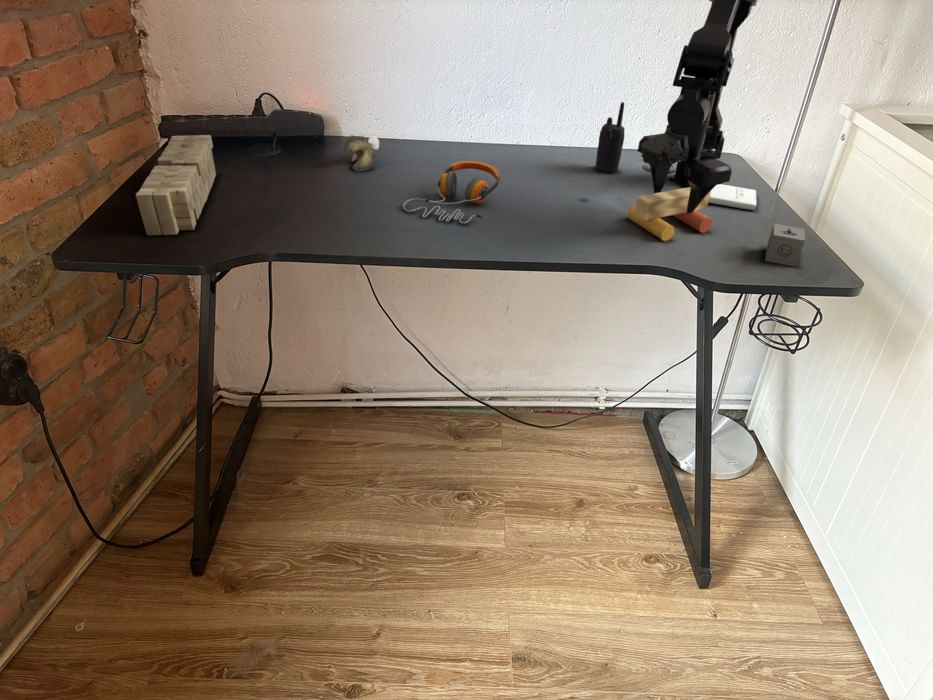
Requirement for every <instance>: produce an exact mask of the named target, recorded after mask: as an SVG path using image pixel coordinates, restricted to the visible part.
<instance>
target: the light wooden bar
mask: <svg viewBox="0 0 933 700" xmlns="http://www.w3.org/2000/svg"><path fill="white" fill-rule="evenodd" d="M690 190H691V187H688V188H687V187H683V188H677V189H671V190H665V191H661V192H660V193H654V192H653V193H649V194H644V195H638V196H637V197H636V202H635V205H636V206H635V212H634V214H635V215H636V216H638V217H639V218H641V219H642V220H649V219H654V218H663V217H670V216H673V215H674V214H679V213H685V212H687V204H688V200H689V195H690ZM710 194H711V191H710V192H709V193H708V194H707V195H706V197H705V198H704V199H703V200H702V201H701V203H700V204H699V205H698V206H697V208H696V209H695V210H697V211H699V210H705V209H707V208H708V206H709V203H708V201H709V197H710ZM695 210H694V211H695Z"/></svg>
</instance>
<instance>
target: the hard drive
mask: <svg viewBox="0 0 933 700" xmlns="http://www.w3.org/2000/svg"><path fill="white" fill-rule="evenodd" d="M708 204H713V205H720V206H725V207H732V208H737V209H741V210H749V211H755V210H756V207H757V190H756V189H751V188H746V187H739V186H733V185H728V184H723V183H722V184H719V185H716V186H715V187H714V188H713V189H712V190H711V194H710V197H709V201H708Z"/></svg>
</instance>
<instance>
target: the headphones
mask: <svg viewBox="0 0 933 700" xmlns="http://www.w3.org/2000/svg"><path fill="white" fill-rule="evenodd" d="M468 169H469V170H477V171H483V172H486V173H488V174H490V175H492V176H493V177H494V179H495V181H494V182H493V184H492V185H491V186H489V184H488V182H486V181H485V179H484V178H483V177H481V176H474V177H472V178H471V179H470V180H469V182H468V184H467V185H466V188H465V191H464V198H465V199H463V200H460V201H455V202H444V201H445V200H446V197H447V198H448V199H449V200H451V199H452V200H453V199H454V198H455V197H456V195H457V189H458V177H457V173H456V171H459V170H468ZM500 181H501V176H500V172H499V170H498V169H497V168H496V167H494V166H492V165H491V164H488V163H486V162H480V161H475V160H463V161H457V162H453V163H452V164H450V165H449V166H447V168H445V169H444V171H443V172H442V174H441V175H440V179H439V180H438V182H437V191H438V194H439V195H440V197H442V198H443V199H442V200H441V199H440V200H430V199H428V198H426V199H425V198H417V197H414V198H411V199H407V200H405V202H403V206H402V207H403V209H404V211H406V212H407V213H412V212H415V211H417V210H421V209H425V210H424V212H423V214H422V218H423V219H424V218H427V216H429V215H430V214H431V212H433V210H434V209H436V208H438V209H437V210H436V211H435V212H434V215H435V216H439V215H440V216H439V217H438V221H440V222H443V221H444V220H445V222H446V223H449V222H450V221H451V219H452V218H453V217H454V218H453V220H454V221H456V220H458V222H459V223H460V224H468V223H469V222H470V221H471V220H472V218H473V217H476V218H479V219H484V220H485V219H487V218H488V217H487V216H483V215H480V214H473V215H471V216H470V217H469V219H468V220H467V221H461V220H462V218H463V217H464V215H465V212H461V211H462V209H460V208H457V209H455V210H454V211H453V213H452V214H450V213H447V214H446V215H445V213H446V209H441V206H440V205H456V204H461V203H463V202H467V203H468V204H471V205H475V204H478V205H479V204H480V205H481V204H482V203H483V202H484V201H485V200H486V199H487V197H488V195H490V194H492V192H493V191H495V189H496V188H497V187H498V186H499V183H500ZM415 200H417V201H418V200H419V201H424V202H426V203H433V204H439V205H434V206H433V207H432V208H431V209H430V210H429V211H428V208H427V207H426V206H419V207H416V208H415V209H411V210H408V209H407V208H406V207H405V205H406V204H407V203H408V202H410V201H415ZM440 209H441V211H440ZM427 211H428V212H427ZM457 211H458V212H457ZM438 212H439V213H438ZM456 212H457V213H456ZM454 214H455V215H454ZM444 215H445V216H444ZM441 218H442V219H441Z"/></svg>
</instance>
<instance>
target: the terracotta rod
mask: <svg viewBox="0 0 933 700" xmlns="http://www.w3.org/2000/svg"><path fill="white" fill-rule="evenodd" d="M672 217H675V218H676V219H677V220H679V221H681V222H682V223H684V224H686V225H688V226H689V227H691V228H692V229H694V230H696V231H698V232H699V233H701V234H704V233H705V234H706V233H707V232H708V231H709V230H710V229H711V228H712V225H713V220H712V218H711V217H709V216H707V215H705V214H704V213H702V212H701V211H699V210H695V211H693V212H692V213H689V214H688V213H687V212H685V213H679V214H674V215H672Z"/></svg>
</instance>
